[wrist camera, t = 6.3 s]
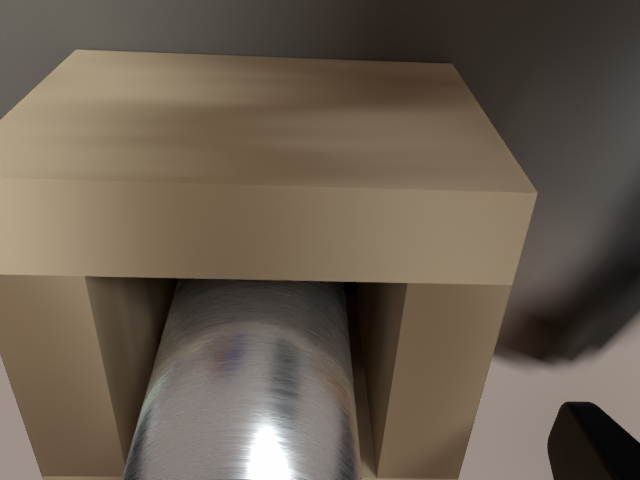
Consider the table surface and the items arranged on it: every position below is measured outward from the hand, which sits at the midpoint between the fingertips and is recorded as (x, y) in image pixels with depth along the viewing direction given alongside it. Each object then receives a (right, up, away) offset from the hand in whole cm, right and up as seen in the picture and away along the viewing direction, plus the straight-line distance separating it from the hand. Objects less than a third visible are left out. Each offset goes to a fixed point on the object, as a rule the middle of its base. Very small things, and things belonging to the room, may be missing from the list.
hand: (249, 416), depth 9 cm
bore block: (0, +3, +5) cm, 6 cm away
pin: (0, +3, +5) cm, 6 cm away
